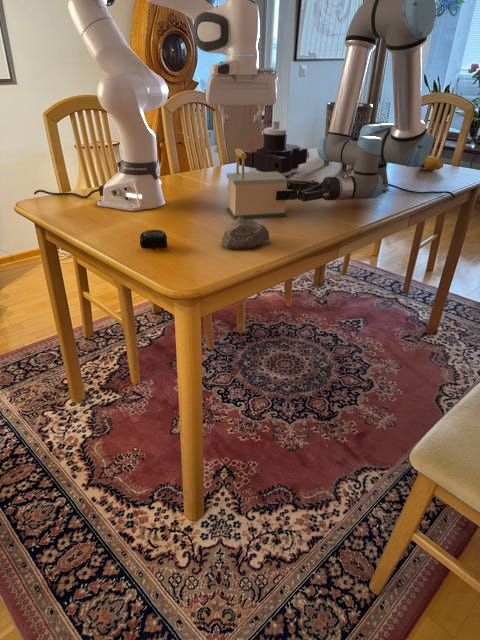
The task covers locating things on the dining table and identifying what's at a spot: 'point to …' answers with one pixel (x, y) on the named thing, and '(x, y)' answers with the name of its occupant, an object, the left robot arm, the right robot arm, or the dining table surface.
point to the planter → (359, 121)
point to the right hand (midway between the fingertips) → (271, 191)
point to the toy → (432, 164)
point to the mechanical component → (276, 153)
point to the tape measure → (153, 239)
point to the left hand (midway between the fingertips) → (241, 122)
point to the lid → (253, 174)
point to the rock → (245, 234)
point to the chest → (255, 200)
